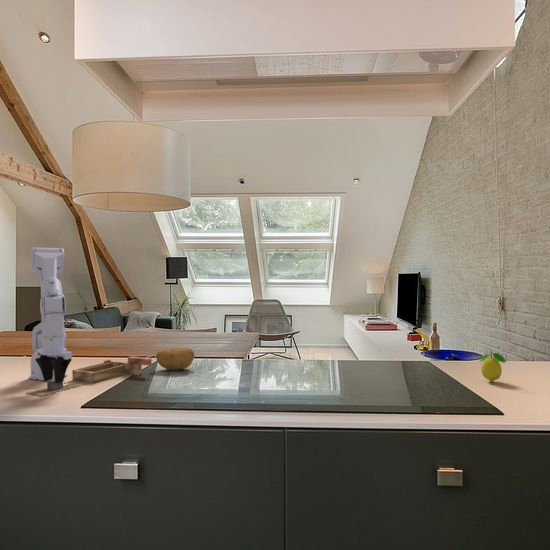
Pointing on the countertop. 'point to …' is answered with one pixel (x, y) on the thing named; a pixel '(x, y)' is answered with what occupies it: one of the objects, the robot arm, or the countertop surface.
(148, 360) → the wooden bar
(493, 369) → the lemon
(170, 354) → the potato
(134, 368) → the toolbox
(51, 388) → the lid
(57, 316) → the robot arm
